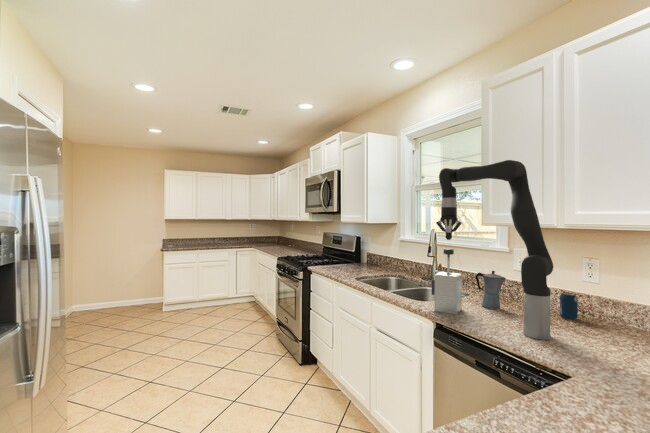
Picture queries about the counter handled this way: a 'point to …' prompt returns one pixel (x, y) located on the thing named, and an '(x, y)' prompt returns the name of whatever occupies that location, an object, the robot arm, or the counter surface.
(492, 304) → the moka pot
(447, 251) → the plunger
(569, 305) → the soda can
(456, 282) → the grey block
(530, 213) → the robot arm
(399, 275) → the counter surface
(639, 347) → the counter surface
